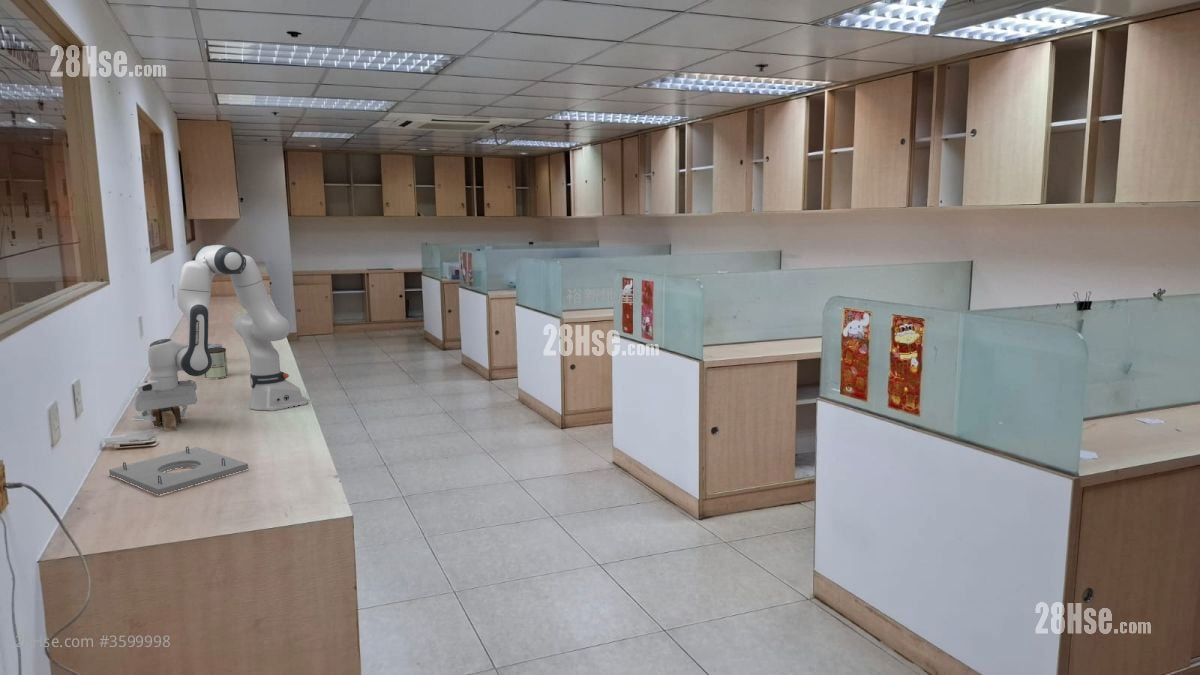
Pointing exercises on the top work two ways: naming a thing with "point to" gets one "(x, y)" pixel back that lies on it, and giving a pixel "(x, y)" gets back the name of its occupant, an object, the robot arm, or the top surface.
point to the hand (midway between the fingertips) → (168, 418)
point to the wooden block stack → (158, 418)
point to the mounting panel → (158, 482)
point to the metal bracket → (143, 416)
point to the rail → (168, 419)
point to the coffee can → (217, 364)
